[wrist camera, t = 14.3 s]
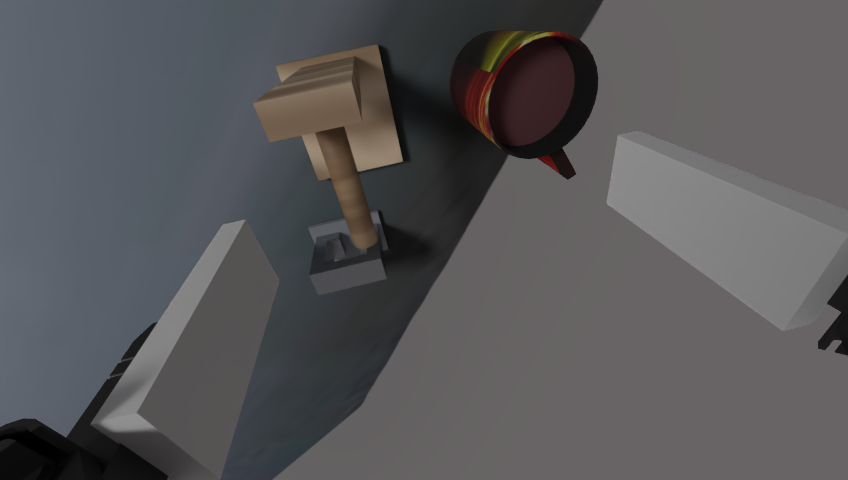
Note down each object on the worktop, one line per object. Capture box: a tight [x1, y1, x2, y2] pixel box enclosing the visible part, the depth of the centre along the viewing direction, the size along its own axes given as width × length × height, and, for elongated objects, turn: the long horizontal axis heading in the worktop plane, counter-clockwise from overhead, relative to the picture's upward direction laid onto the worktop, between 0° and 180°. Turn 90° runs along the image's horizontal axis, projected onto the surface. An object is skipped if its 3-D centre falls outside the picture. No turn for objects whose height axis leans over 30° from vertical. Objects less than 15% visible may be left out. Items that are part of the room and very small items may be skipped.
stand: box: [253, 44, 403, 249], centre depth 28 cm, size 13×10×20 cm
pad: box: [308, 210, 388, 262], centre depth 44 cm, size 6×9×1 cm, turn 100°
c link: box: [309, 223, 387, 295], centre depth 41 cm, size 8×3×8 cm, turn 100°
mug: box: [450, 30, 598, 179], centre depth 33 cm, size 10×14×12 cm
